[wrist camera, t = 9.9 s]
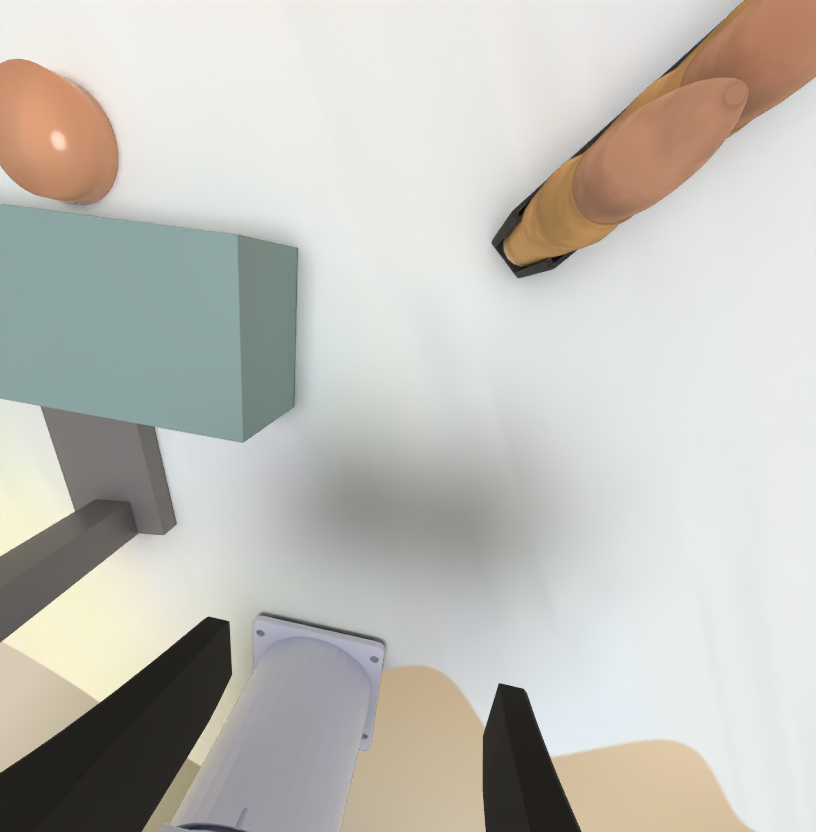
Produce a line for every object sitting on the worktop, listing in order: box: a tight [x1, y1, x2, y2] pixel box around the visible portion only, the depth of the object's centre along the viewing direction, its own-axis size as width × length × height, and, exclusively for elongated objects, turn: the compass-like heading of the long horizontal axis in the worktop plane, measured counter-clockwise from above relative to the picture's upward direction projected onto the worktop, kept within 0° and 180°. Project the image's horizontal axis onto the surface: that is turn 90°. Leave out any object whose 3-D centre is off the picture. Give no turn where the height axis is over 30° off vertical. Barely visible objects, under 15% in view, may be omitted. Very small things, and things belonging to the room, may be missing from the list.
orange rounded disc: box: [0, 59, 118, 204], centre depth 15 cm, size 4×4×2 cm
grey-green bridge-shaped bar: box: [0, 204, 297, 443], centre depth 16 cm, size 7×20×4 cm, turn 83°
